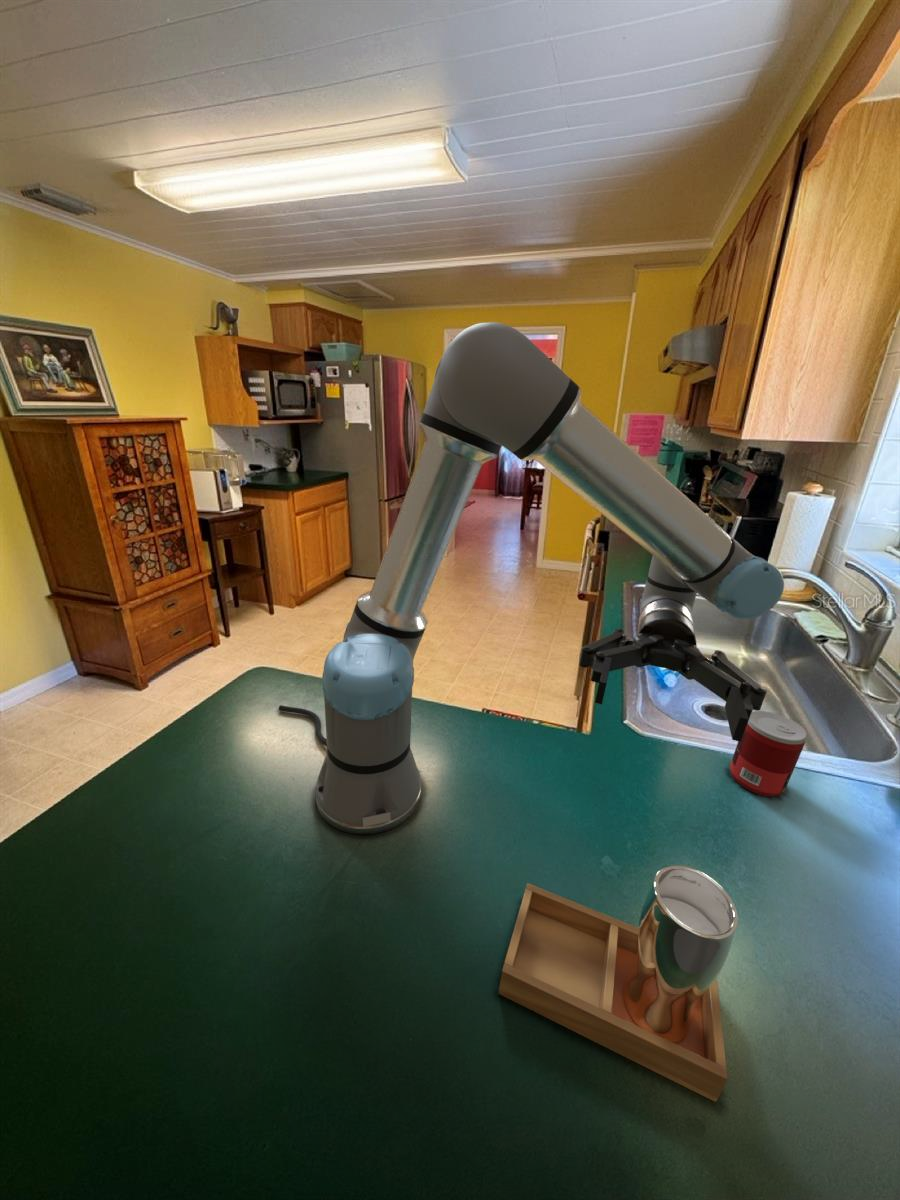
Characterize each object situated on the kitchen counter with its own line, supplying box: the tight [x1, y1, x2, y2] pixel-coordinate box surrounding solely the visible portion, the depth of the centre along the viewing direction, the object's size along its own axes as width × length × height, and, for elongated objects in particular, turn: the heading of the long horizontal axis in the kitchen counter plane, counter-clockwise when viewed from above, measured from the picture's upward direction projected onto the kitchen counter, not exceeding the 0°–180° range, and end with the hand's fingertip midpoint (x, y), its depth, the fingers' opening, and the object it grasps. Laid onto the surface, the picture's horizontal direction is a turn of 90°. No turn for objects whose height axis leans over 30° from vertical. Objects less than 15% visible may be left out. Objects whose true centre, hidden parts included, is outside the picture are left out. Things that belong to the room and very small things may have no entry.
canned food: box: [729, 710, 808, 797], centre depth 75 cm, size 8×8×11 cm
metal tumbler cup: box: [624, 864, 739, 1043], centre depth 43 cm, size 7×7×15 cm
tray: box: [498, 882, 729, 1103], centre depth 47 cm, size 10×19×4 cm, turn 67°
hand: (667, 710), depth 49 cm, fingers open, 13 cm apart
